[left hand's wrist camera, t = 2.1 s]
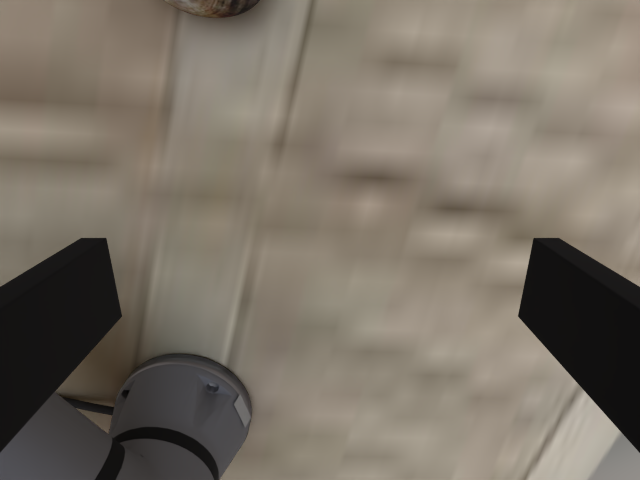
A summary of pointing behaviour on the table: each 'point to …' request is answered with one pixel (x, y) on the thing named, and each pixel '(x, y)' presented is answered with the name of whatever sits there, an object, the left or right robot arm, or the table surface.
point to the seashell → (213, 7)
